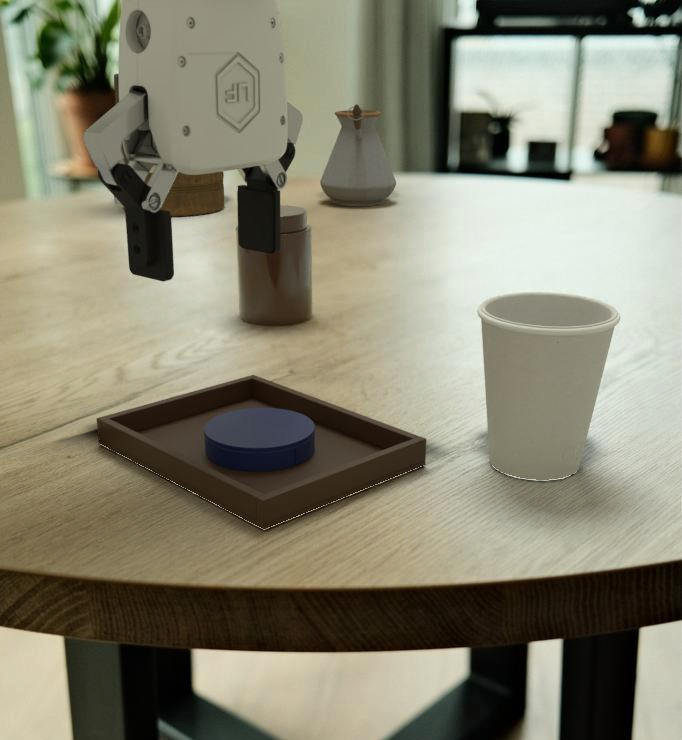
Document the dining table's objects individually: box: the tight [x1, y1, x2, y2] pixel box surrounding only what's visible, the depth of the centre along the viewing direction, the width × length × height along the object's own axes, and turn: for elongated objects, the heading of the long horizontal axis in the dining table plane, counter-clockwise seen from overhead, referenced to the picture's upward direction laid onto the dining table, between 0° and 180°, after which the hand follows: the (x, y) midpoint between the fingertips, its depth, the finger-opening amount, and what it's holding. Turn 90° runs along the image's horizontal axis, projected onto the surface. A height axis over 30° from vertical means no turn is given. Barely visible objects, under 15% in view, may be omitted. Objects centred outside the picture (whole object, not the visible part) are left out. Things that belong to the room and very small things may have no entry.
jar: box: [235, 204, 313, 327], centre depth 90 cm, size 7×7×10 cm
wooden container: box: [113, 72, 225, 217], centre depth 145 cm, size 15×15×22 cm
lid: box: [204, 408, 315, 472], centre depth 65 cm, size 7×7×2 cm
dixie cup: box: [476, 291, 621, 480], centre depth 63 cm, size 8×8×10 cm
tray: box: [96, 374, 427, 529], centre depth 65 cm, size 17×13×2 cm
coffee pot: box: [319, 103, 397, 207], centre depth 147 cm, size 21×12×15 cm, turn 178°
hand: (208, 262), depth 64 cm, fingers open, 9 cm apart
